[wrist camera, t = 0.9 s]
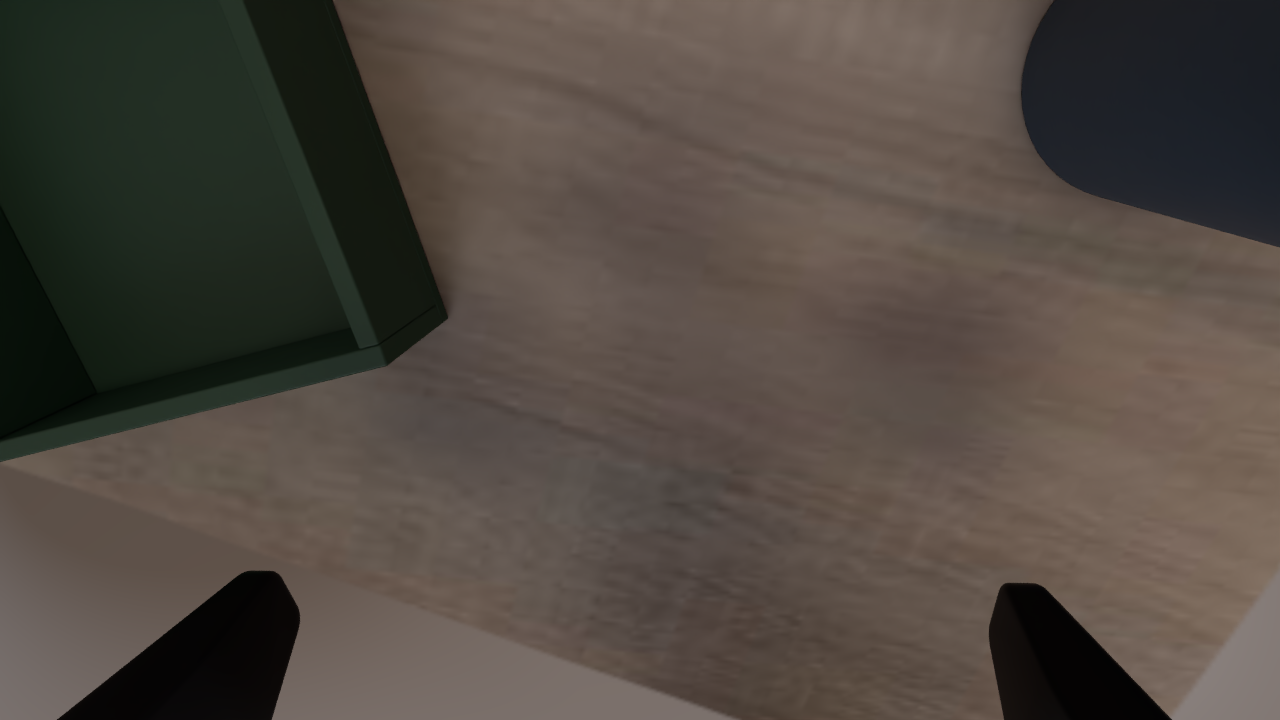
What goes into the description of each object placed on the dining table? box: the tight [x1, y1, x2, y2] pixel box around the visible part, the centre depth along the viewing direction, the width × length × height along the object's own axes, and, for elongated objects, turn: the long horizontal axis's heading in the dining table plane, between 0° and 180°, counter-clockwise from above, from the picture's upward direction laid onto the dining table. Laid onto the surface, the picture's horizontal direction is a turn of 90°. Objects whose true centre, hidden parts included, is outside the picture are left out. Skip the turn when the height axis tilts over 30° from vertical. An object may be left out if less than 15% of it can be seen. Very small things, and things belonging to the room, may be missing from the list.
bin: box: [0, 0, 448, 462], centre depth 21 cm, size 13×13×4 cm
